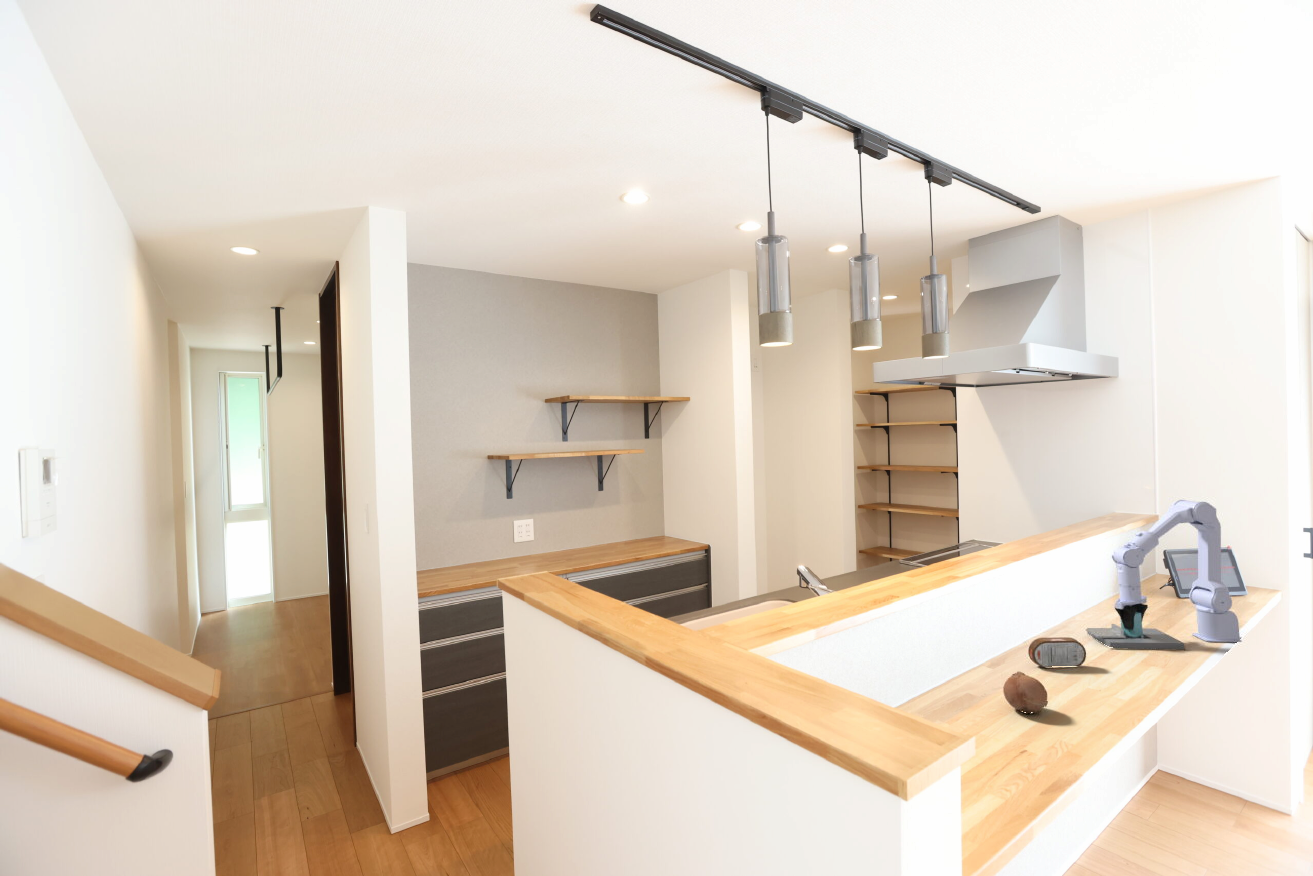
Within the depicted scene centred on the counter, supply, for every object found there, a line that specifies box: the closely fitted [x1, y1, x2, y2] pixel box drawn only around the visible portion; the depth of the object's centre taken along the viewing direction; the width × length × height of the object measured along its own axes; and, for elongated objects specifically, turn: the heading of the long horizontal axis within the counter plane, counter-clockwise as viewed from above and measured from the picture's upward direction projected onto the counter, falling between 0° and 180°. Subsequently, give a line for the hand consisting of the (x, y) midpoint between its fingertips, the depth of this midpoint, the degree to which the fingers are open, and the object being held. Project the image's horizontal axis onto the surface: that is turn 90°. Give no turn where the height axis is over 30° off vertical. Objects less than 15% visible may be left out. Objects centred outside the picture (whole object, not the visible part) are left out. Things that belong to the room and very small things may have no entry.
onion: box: [1003, 671, 1049, 714], centre depth 155 cm, size 10×9×10 cm
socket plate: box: [1086, 627, 1186, 650], centre depth 202 cm, size 20×16×2 cm
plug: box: [1119, 612, 1143, 637], centre depth 202 cm, size 4×4×7 cm
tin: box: [1027, 636, 1087, 668], centre depth 183 cm, size 15×3×8 cm, turn 84°
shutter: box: [1085, 623, 1126, 638], centre depth 203 cm, size 8×8×2 cm
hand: (1132, 628), depth 202 cm, fingers closed on plug, 4 cm apart
